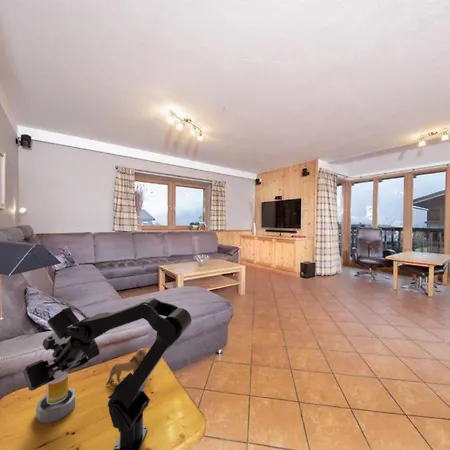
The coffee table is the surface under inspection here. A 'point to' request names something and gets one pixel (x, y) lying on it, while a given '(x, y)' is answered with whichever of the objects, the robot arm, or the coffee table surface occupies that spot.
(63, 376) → the supplement bottle
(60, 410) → the grey faceted bowl
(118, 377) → the lion figurine
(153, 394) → the coffee table surface
